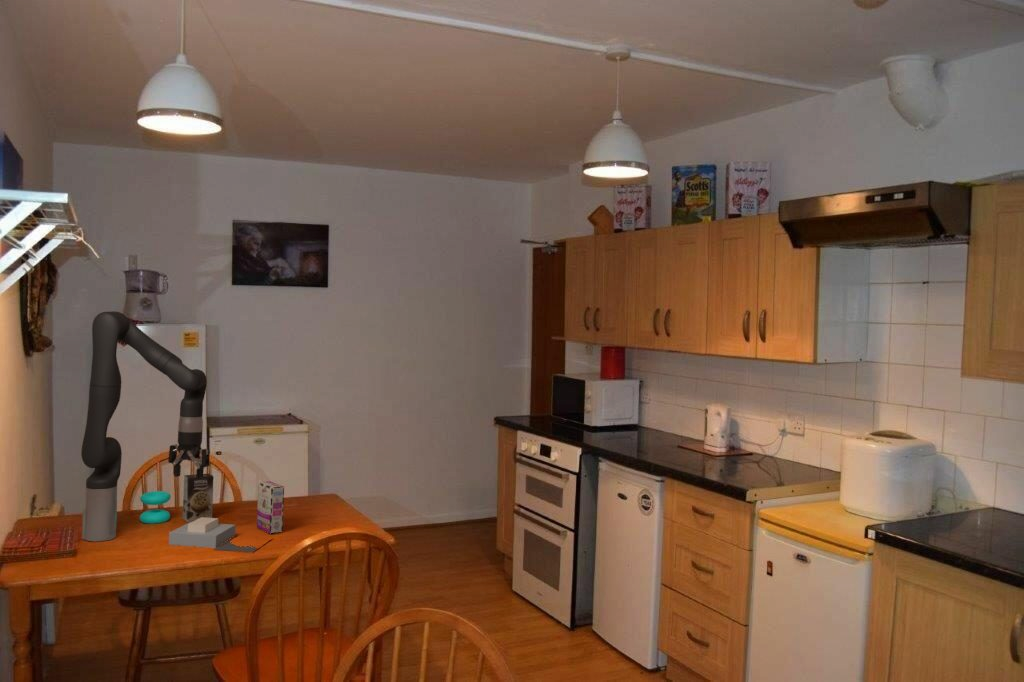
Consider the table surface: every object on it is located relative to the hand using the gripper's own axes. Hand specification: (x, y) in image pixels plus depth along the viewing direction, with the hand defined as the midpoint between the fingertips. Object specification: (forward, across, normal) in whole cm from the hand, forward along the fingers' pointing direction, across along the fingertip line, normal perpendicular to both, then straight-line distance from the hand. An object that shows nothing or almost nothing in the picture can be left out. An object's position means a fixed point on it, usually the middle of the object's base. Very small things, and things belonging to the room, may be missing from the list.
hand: (188, 477), depth 263 cm
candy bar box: (+20, +19, +21) cm, 35 cm away
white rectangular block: (+15, +6, +2) cm, 16 cm away
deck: (+21, +6, +2) cm, 22 cm away
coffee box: (+21, -13, +24) cm, 35 cm away
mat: (+20, +21, +3) cm, 29 cm away
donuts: (+22, -25, +16) cm, 37 cm away
